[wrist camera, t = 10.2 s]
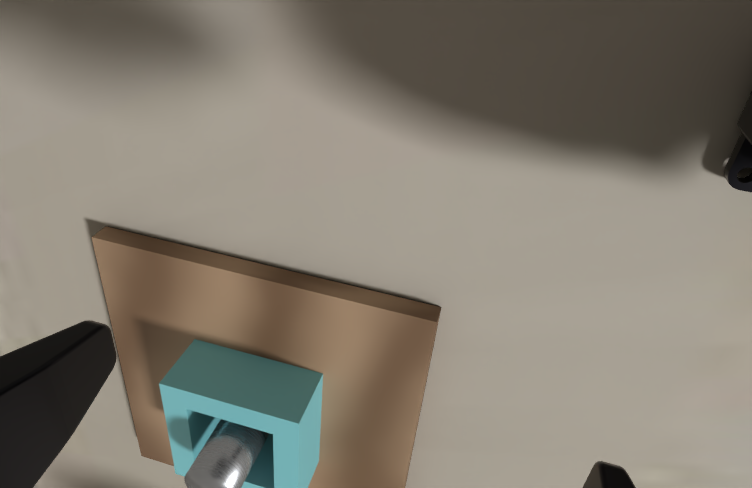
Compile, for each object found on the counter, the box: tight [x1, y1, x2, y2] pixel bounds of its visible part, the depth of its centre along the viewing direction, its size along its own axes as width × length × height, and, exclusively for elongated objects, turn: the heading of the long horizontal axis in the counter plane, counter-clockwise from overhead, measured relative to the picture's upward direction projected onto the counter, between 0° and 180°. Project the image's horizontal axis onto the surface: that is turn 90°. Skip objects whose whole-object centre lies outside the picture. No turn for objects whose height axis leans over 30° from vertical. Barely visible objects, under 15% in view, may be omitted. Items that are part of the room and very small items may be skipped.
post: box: [185, 419, 270, 488], centre depth 26 cm, size 2×2×5 cm
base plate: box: [92, 227, 441, 488], centre depth 29 cm, size 16×16×1 cm
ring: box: [159, 339, 323, 488], centre depth 27 cm, size 7×7×3 cm
